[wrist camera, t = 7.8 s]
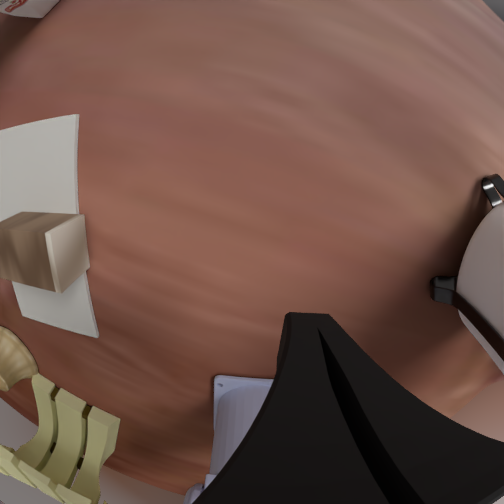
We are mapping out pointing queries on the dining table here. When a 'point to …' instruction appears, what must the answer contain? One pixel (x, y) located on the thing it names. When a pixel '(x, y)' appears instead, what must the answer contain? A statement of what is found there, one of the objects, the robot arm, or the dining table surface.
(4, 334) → the hand bell
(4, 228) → the walnut block
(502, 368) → the coffee press
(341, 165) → the dining table surface
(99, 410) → the slatted curved stool
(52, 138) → the felt mat
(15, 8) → the juice carton
